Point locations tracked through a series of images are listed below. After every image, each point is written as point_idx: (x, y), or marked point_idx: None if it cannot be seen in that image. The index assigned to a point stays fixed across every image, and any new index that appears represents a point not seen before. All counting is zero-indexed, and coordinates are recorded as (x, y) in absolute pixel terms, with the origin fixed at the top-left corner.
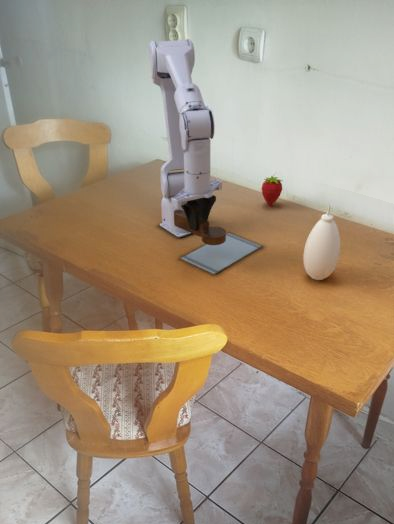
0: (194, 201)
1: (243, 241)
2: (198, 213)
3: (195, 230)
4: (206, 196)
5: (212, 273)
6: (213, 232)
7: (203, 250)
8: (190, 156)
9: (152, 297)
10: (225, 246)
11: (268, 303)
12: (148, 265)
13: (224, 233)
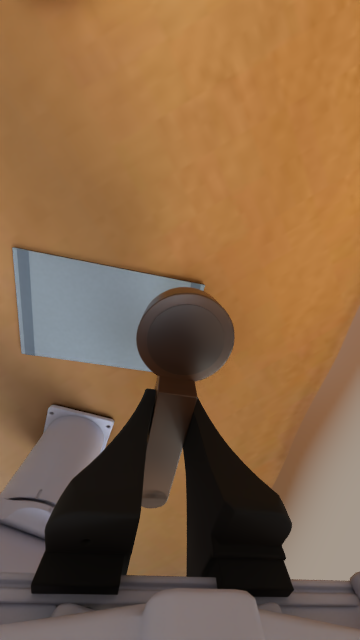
0: (233, 565)
1: (28, 301)
2: (219, 457)
3: (197, 398)
4: (263, 633)
5: (203, 290)
6: (193, 339)
7: (129, 356)
8: None
9: (330, 343)
10: (81, 326)
11: (271, 65)
12: (232, 406)
13: (178, 298)
